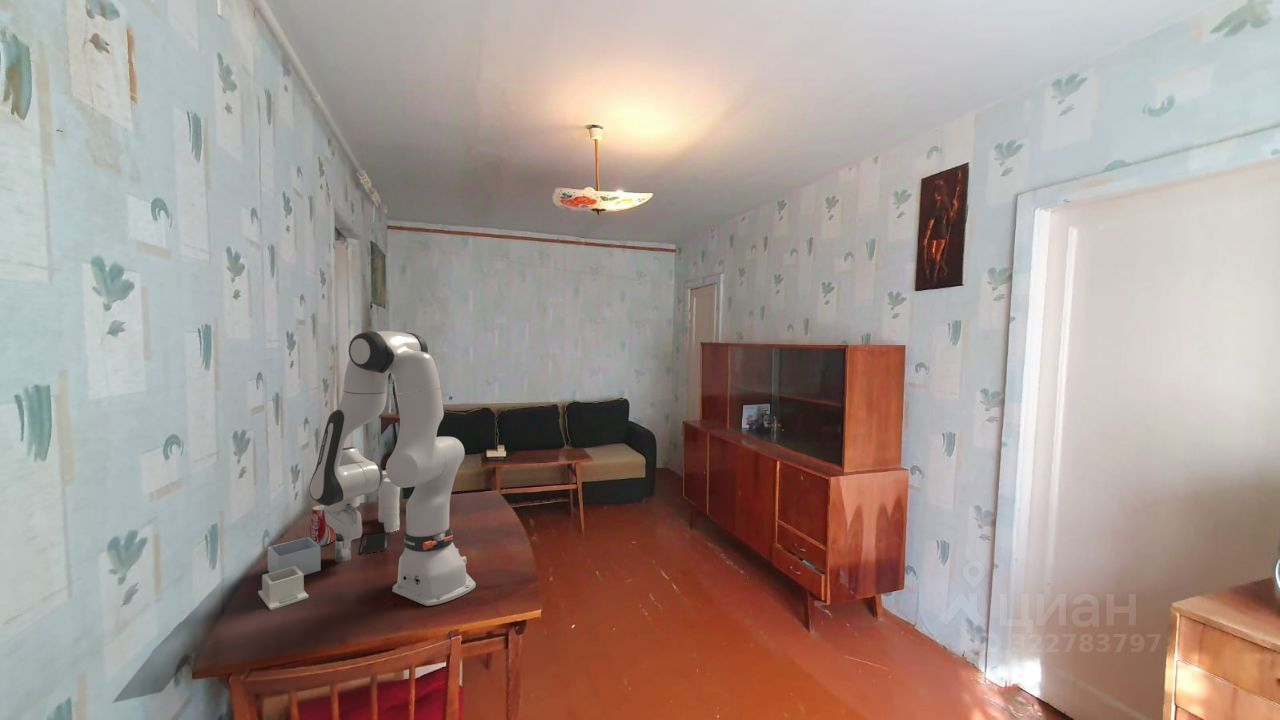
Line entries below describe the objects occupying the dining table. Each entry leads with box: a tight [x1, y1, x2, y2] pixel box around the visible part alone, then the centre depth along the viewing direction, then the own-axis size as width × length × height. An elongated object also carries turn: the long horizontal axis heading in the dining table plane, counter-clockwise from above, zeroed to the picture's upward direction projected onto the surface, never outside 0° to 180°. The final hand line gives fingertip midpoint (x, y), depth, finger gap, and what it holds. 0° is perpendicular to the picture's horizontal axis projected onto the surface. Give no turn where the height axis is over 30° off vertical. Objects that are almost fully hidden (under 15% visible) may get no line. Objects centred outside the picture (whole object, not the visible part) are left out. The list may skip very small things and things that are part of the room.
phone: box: [359, 531, 390, 555], centre depth 159 cm, size 8×1×15 cm
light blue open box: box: [267, 536, 322, 576], centre depth 140 cm, size 10×10×7 cm
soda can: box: [309, 504, 335, 547], centre depth 159 cm, size 7×7×12 cm
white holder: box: [257, 566, 309, 611], centre depth 126 cm, size 12×8×6 cm, turn 50°
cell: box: [334, 531, 352, 563], centre depth 148 cm, size 4×4×10 cm
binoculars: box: [377, 469, 401, 533], centre depth 176 cm, size 17×5×18 cm, turn 37°
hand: (343, 545), depth 148 cm, fingers closed on cell, 4 cm apart
